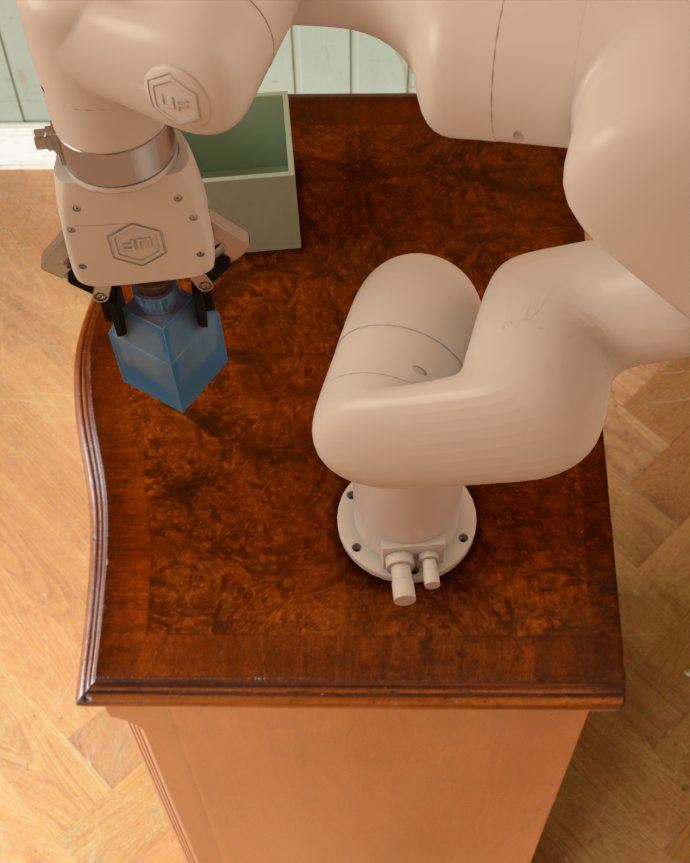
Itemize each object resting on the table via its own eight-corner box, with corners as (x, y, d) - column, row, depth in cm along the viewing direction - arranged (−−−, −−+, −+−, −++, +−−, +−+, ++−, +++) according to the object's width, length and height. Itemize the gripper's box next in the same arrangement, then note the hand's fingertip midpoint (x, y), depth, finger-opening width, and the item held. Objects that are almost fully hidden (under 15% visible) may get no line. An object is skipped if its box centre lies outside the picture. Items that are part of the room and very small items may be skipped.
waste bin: (301, 248, 125) (294, 174, 116) (180, 258, 125) (164, 185, 116) (294, 165, 132) (287, 90, 124) (179, 174, 132) (165, 100, 123)
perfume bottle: (228, 361, 96) (209, 261, 86) (182, 413, 93) (158, 316, 83) (169, 331, 98) (144, 231, 88) (123, 381, 95) (92, 282, 85)
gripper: (-20, 191, 72) (50, 367, 87) (252, 163, 73) (276, 343, 88) (-12, 112, 77) (54, 294, 92) (245, 87, 77) (269, 271, 92)
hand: (162, 316), depth 90 cm, fingers closed on perfume bottle, 5 cm apart
